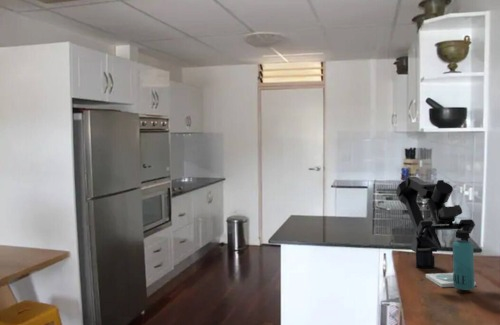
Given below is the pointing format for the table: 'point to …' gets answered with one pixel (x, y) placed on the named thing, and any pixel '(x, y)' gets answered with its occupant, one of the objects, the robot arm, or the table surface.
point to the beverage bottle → (463, 262)
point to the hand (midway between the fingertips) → (453, 247)
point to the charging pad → (442, 279)
